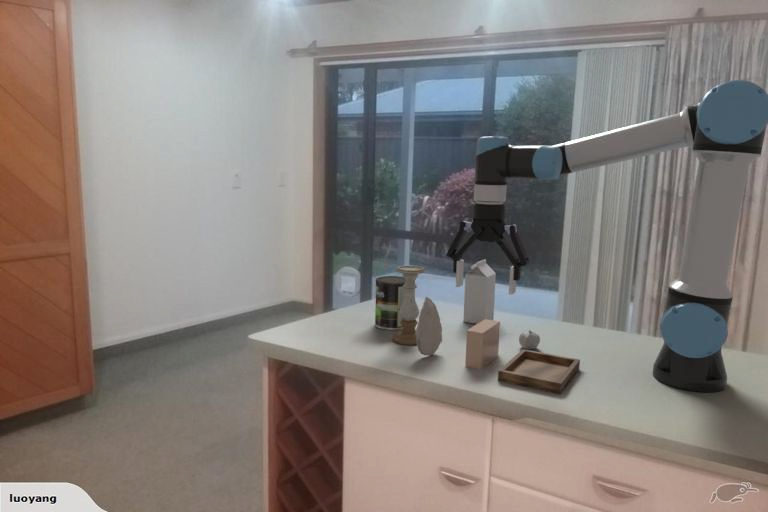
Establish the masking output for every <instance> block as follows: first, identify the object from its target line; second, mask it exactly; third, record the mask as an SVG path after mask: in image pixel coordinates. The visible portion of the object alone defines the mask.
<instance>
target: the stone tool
mask: <svg viewBox="0 0 768 512" xmlns="http://www.w3.org/2000/svg"><path fill="white" fill-rule="evenodd" d="M417 322H418V324H417V325H416V328H415V330H416V338H417V344H416V346H417V349H418V352H419V353H420V355H423V356H434V355H435V353H436V351H438V349H439V347H440V345H441V343H442V342H443V328H442V323H441V318H440V314H439V311H438V309H437V305H436V304H435V302H434V301H433V300H432V299H431V298H429V297H428V296H425V297H424V302H423V304H422V308H421V309H420V311H419V316H418V321H417Z"/></svg>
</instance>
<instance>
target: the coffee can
mask: <svg viewBox="0 0 768 512" xmlns="http://www.w3.org/2000/svg"><path fill="white" fill-rule="evenodd" d="M404 284H405V279H404V278H403V276H398V275H387V276H386V275H384V276H380V277H379V276H378V277H376V278H375V311H374V312H375V313H374V315H375V317H374V326H375V327H376V328H378V329H380V330H386V331H399V330H403V327H402V324H401V323H400V321H401V320H402V318H401V316H400V314H399V311H400V308H401V305H402V303H403V301H404V296H405V288H403V285H404Z"/></svg>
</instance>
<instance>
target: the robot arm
mask: <svg viewBox="0 0 768 512" xmlns="http://www.w3.org/2000/svg"><path fill="white" fill-rule="evenodd" d="M767 125H768V93H767V91H766V90H765V89H764V88H762V86H760V85H759V84H757V83H755V82H752V81H748V80H743V79H736V80H729V81H725V82H722V83H720V84H717V85H716V86H714V87H712V88H711V89H710V90H708V91H707V93H705V94H704V96H703V97H702V99H701V100H700V101H699V102H697V103H694V104H690V105H686V106H685V107H684V108H683V109H682V110H681V112H678V113H675V114H671V115H670V114H669V115H665V116H662V117H659V118H658V117H657V118H656V119H652V120H648V121H644V122H643V121H642V122H640V123H636V124H632V125H628V126H625V127H624V126H623V127H620V128H616V129H612V130H610V131H605V132H602V133H601V132H600V133H598V134H594V135H590V136H586V137H582V138H578V139H573V140H570V141H566V142H562V143H558V144H554V145H548V144H547V145H545V144H544V145H511V143H510V139H509V137H507V136H481V137H479V138H477V142H476V152H475V157H474V158H475V167H474V168H475V169H474V172H475V173H474V187H473V188H474V189H473V192H474V193H473V201H475V202H474V204H473V207H472V208H473V210H472V221H471V222H469V221H468V220H463V221H460V223H459V228H458V232H457V233H456V235H455V236H454V238H453V240H452V242H451V245H450V246H449V249H448V250H447V252H446V257H448V258H451V259H452V260H453V267H452V269H453V270H452V271H453V273H454V274H455V273H456V275H455V276H456V277H455V287H456V288H460V287H462V286H463V285H464V269H465V268H464V267H465V259H462V257H464V255H465V254H466V253H468V251H470V249H471V248H472V247H473V246H474V245H475V243H477V242H478V241H479V242H488V243H494V242H495V243H496V244H497V245H498V246H499V247H500V248H501V250H502V252H503V253H504V254H505V256H506V258H507V259H508V260H509V262H510V263H511V265H512V266H510V268H509V283H508V285H509V286H508V295H510V296H511V295H514V294H516V291H517V290H516V288H517V286H516V285H517V281H518V282H519V280H520V279H521V273H522V267H524V266H526V265H528V264H530V259H529V257H528V254H527V252H526V250H525V247H524V245H523V242H522V240H521V238H520V235H519V229H518V228H519V227H518V226H519V225H518V224H510V225H508V224H507V225H506V223H505V220H506V205H505V202H506V200H507V185H508V182H507V181H508V179H524V180H540V181H547V180H548V181H549V180H550V181H551V180H553V181H554V180H556V179H558V178H559V177H560V176H564V175H568V174H572V173H577V172H580V171H581V172H582V171H587V170H590V169H594V168H599V167H603V166H607V165H611V164H616V163H621V162H625V161H631V160H634V159H638V158H643V157H646V156H652V155H657V154H661V153H664V152H669V151H674V150H677V149H683V148H689V149H692V151H691V153H693V154H694V156H695V157H696V158H697V160H698V166H697V170H696V176H695V183H694V188H693V193H692V199H691V205H690V211H689V215H688V220H687V221H688V222H687V227H686V233H685V239H684V244H683V250H682V256H681V261H680V267H679V273H678V277H677V278H676V279H673V281H671V282H670V283H669V284H668V288H667V293H666V298H665V304H664V312H663V315H662V316H661V319H660V324H659V330H660V335H661V336H662V339H663V345H662V346H661V348H660V350H659V352H658V355H657V356H656V358H655V360H654V363H653V367H652V376H653V377H654V378H655V379H656V380H658V381H659V382H660V383H663V384H666V385H668V386H671V387H674V388H677V389H681V390H687V391H693V392H701V393H702V392H703V393H710V392H711V393H712V392H720V391H723V390H725V389H726V387H727V382H728V375H727V371H726V366H725V362H724V358H723V353H722V349H723V346H724V345H725V343H726V341H727V338H728V335H729V331H728V323H729V318H730V314H731V313H730V312H731V307H732V302H733V298H734V294H733V292H732V291H731V290H730V289H729V288H728V287H727V281H728V276H729V273H730V266H731V261H732V257H733V251H734V246H735V240H736V236H737V230H738V225H739V220H740V215H741V211H742V204H743V200H744V195H745V190H746V184H747V179H748V173H749V169H750V165H751V164H752V163H754V162H755V160H757V159H759V158H760V157H761V154H762V152H763V151H762V150H763V147H764V142H765V141H764V140H765V135H766V131H767ZM470 229H471V230H472V232H473V233H472V235H471V236H470V237H469V239H468V240H467V241H466V242H465V243H464V244H463V245H462V246H461V248H459V247H460V245H461V243H462V242H463V240H464V238H465V236H466V234H467V232H468V231H469V230H470ZM505 232H507V234H508V235H509V236H510V239H511V240H510V241H511V242H512V245H513V247H514V249H515V251H514V250H513V248H512V247H511V246H510V244H509V243H508V241H507V239H506V237H505V236H504V233H505ZM458 249H459V250H458ZM457 250H458V251H457ZM515 252H516V253H515Z"/></svg>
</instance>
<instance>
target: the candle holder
mask: <svg viewBox="0 0 768 512" xmlns="http://www.w3.org/2000/svg"><path fill="white" fill-rule="evenodd" d="M395 271H396V272H397V273H398V274H399V273H400V274H402V276H401V277H403V278H404V279H405V284H404V285H403V288H405V296H404V301H403V303H402V305H401V308H400V311H399V314H400V316H401V318H402V320H401V321H400V323H401V324H402V327H403V329H402V330H397V331H396V333H395V334H393V335H392V341H393V342H394V343H397V344H399V345H405V346H411V345H413V346H414V345H417V338H416V328H417V326H418V322H419V321H418V320H417V318H419V316H420V309H419V307H418V305H417V304H418V303H417V301H416V289H417V288H418V286H417V284H416V280H417V278H418V277H419V275H420V274H423V273H425V268H424V267H423V266H419V265H399V266H397V267H396V270H395Z"/></svg>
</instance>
